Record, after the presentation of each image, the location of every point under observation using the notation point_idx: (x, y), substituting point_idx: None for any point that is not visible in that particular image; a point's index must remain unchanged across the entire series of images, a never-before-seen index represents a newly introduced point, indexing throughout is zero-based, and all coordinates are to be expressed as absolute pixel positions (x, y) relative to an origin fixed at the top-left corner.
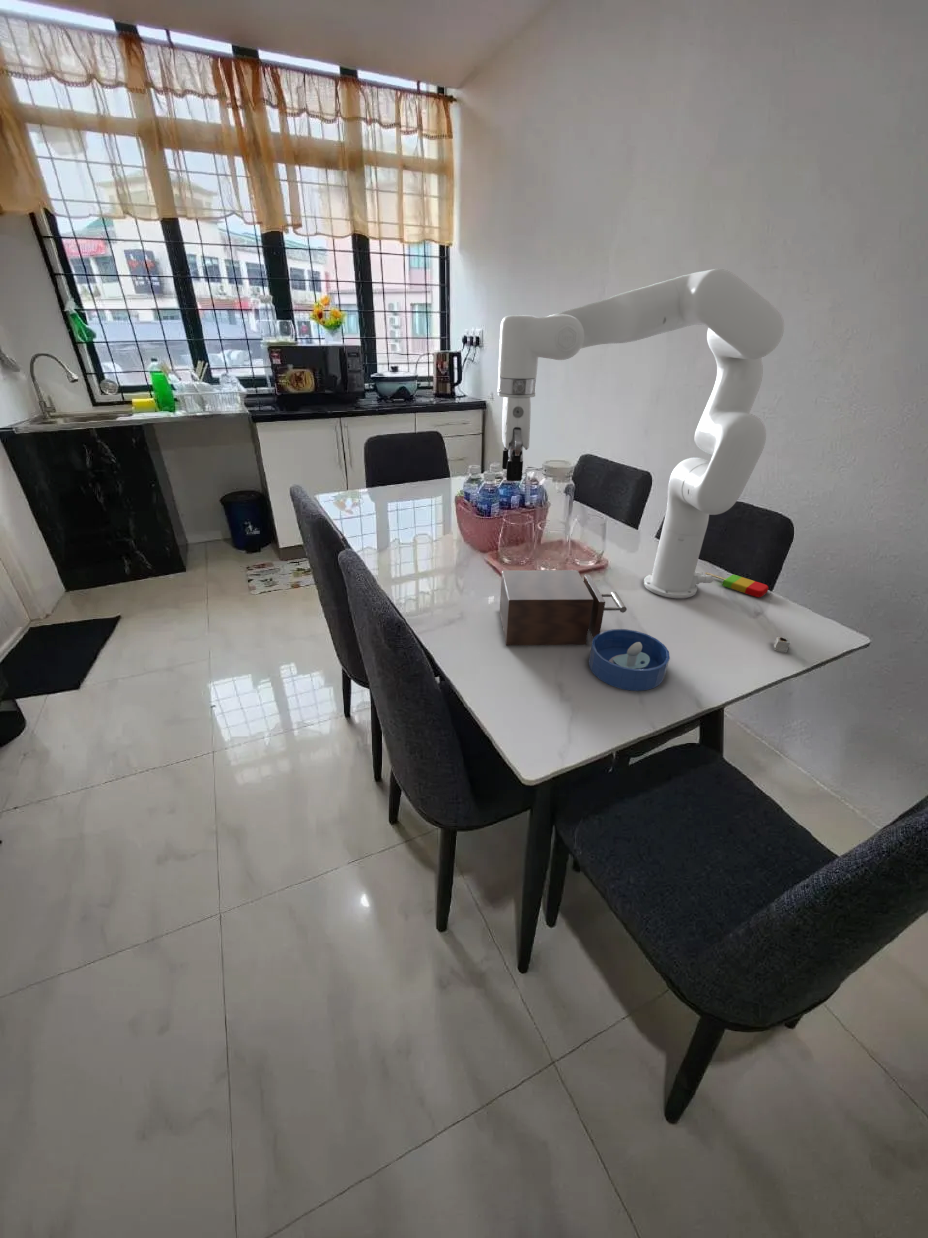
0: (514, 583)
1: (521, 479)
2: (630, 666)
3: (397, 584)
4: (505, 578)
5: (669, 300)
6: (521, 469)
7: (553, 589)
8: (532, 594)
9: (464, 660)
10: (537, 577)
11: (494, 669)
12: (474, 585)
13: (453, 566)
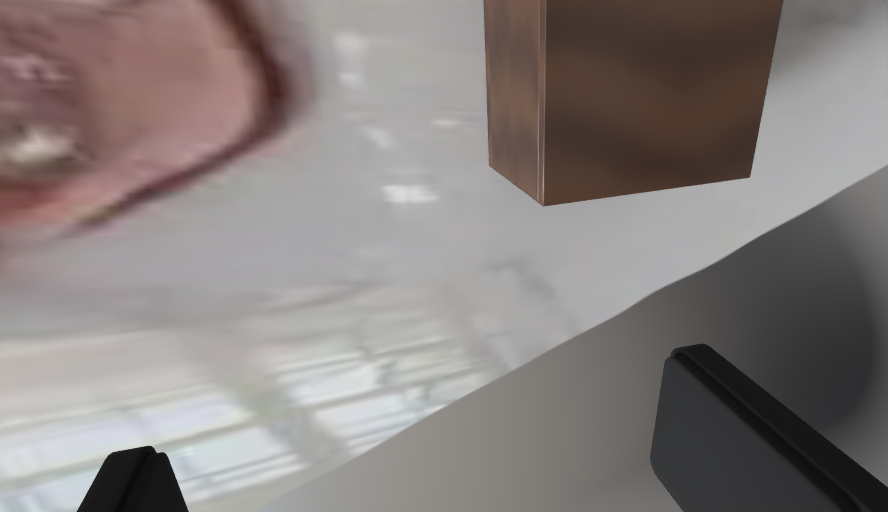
0: (647, 159)
1: (708, 348)
2: None
3: (344, 445)
4: (608, 191)
5: None
6: (797, 430)
7: (712, 10)
8: (732, 98)
9: (690, 236)
10: (609, 67)
11: None
12: (316, 251)
13: (174, 334)
